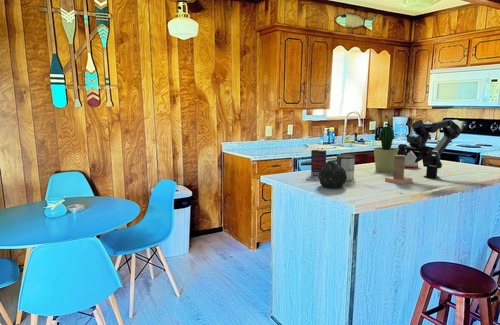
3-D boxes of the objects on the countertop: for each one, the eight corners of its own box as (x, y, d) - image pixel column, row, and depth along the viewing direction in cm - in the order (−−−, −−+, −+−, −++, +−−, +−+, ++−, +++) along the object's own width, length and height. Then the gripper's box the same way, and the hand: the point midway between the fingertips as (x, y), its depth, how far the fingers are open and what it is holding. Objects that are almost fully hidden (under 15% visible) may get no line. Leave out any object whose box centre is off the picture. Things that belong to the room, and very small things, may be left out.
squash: (350, 174, 189) (332, 154, 189) (352, 181, 175) (333, 159, 175) (330, 190, 193) (312, 170, 193) (330, 198, 179) (311, 176, 179)
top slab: (396, 179, 197) (396, 175, 197) (412, 182, 188) (412, 178, 188) (384, 181, 192) (385, 177, 191) (401, 184, 183) (401, 180, 183)
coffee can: (332, 179, 203) (333, 155, 201) (341, 176, 210) (342, 154, 208) (348, 182, 196) (349, 157, 194) (357, 179, 203) (358, 155, 201)
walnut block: (393, 176, 193) (395, 154, 192) (403, 177, 191) (405, 155, 189) (393, 178, 189) (394, 155, 187) (403, 179, 187) (404, 156, 185)
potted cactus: (400, 170, 230) (403, 125, 225) (392, 173, 219) (395, 126, 214) (377, 167, 240) (380, 124, 235) (368, 170, 229) (371, 125, 224)
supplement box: (326, 175, 216) (326, 150, 214) (324, 176, 212) (325, 150, 209) (312, 174, 220) (313, 149, 217) (310, 175, 215) (311, 150, 213)
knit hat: (399, 168, 237) (400, 146, 235) (394, 165, 251) (395, 144, 248) (420, 168, 235) (422, 147, 232) (414, 165, 248) (416, 144, 246)
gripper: (400, 129, 200) (387, 150, 196) (431, 131, 184) (417, 153, 180) (408, 142, 205) (395, 162, 201) (439, 145, 189) (425, 167, 185)
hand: (407, 161), depth 192 cm, fingers open, 9 cm apart
